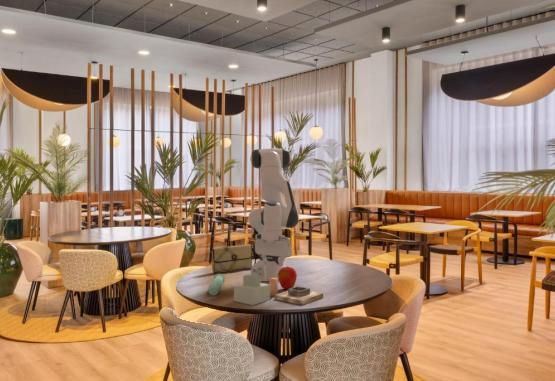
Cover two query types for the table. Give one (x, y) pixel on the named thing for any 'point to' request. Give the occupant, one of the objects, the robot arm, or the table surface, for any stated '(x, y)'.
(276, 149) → the robot arm
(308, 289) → the socket plate
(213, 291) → the pale green rod
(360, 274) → the table surface
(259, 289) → the housing
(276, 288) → the pin
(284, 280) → the apple
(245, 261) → the clutch purse
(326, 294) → the table surface
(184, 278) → the table surface
